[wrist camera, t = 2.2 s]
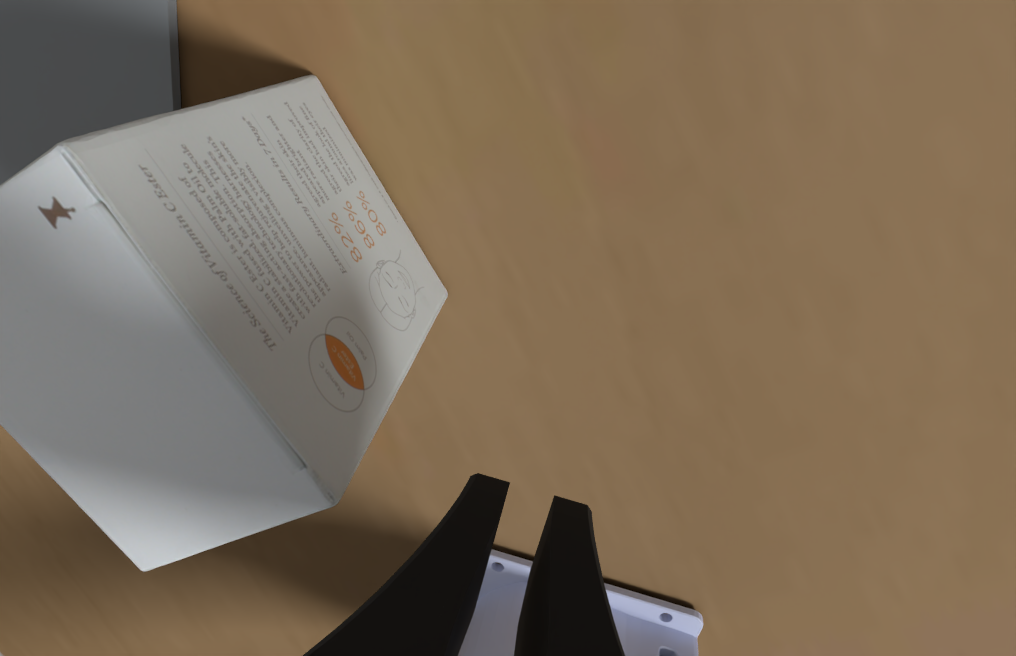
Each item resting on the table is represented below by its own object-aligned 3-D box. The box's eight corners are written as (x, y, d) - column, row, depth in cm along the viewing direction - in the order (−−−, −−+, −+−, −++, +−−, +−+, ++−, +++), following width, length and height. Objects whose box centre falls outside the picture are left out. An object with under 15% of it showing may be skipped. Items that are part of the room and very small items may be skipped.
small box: (184, 154, 21) (-157, 275, 12) (320, 68, 19) (45, 130, 10) (323, 355, 24) (137, 584, 14) (454, 296, 22) (338, 513, 13)
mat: (172, -91, 18) (162, -92, 18) (193, 380, 26) (187, 385, 25) (-217, -184, 19) (-233, -187, 18) (-81, 300, 27) (-90, 305, 26)
